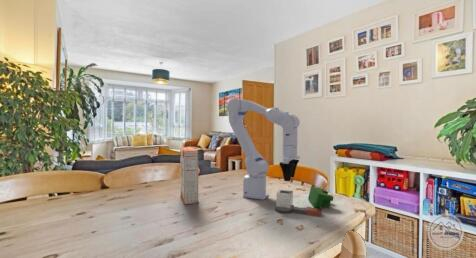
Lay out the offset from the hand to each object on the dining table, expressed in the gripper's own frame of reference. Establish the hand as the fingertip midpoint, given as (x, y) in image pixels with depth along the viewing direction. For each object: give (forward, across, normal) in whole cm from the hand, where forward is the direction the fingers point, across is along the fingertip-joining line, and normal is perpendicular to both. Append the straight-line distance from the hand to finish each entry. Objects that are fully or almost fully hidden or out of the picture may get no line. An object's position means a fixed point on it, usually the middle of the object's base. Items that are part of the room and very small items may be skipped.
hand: (289, 179), depth 102 cm
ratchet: (+9, -9, -5) cm, 14 cm away
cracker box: (+10, -13, +39) cm, 42 cm away
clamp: (+10, +2, -12) cm, 16 cm away
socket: (+8, -9, 0) cm, 12 cm away
